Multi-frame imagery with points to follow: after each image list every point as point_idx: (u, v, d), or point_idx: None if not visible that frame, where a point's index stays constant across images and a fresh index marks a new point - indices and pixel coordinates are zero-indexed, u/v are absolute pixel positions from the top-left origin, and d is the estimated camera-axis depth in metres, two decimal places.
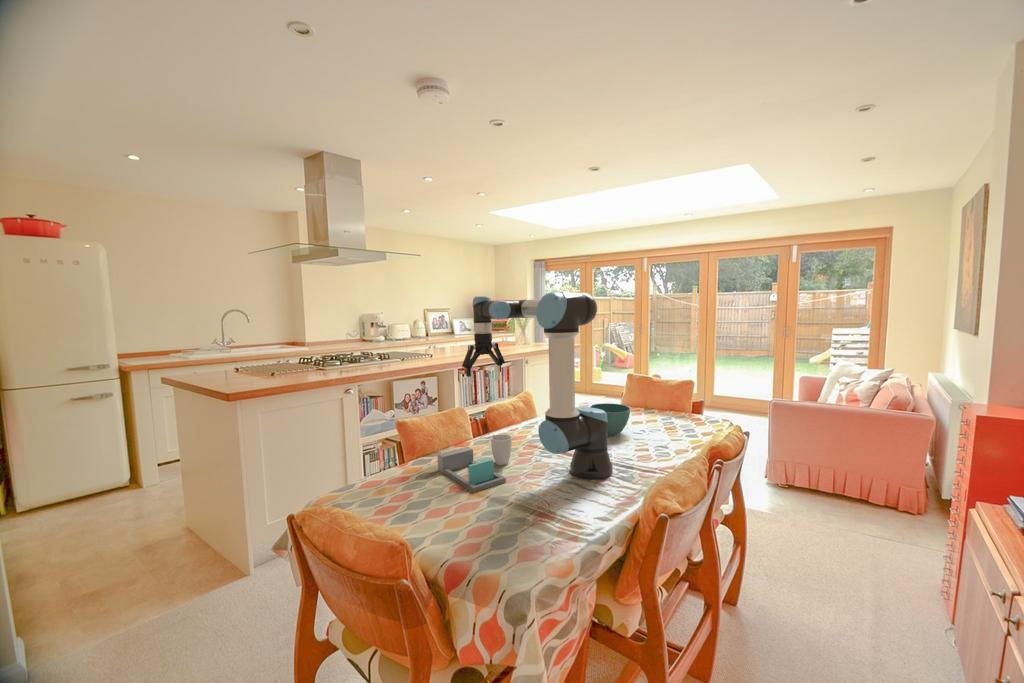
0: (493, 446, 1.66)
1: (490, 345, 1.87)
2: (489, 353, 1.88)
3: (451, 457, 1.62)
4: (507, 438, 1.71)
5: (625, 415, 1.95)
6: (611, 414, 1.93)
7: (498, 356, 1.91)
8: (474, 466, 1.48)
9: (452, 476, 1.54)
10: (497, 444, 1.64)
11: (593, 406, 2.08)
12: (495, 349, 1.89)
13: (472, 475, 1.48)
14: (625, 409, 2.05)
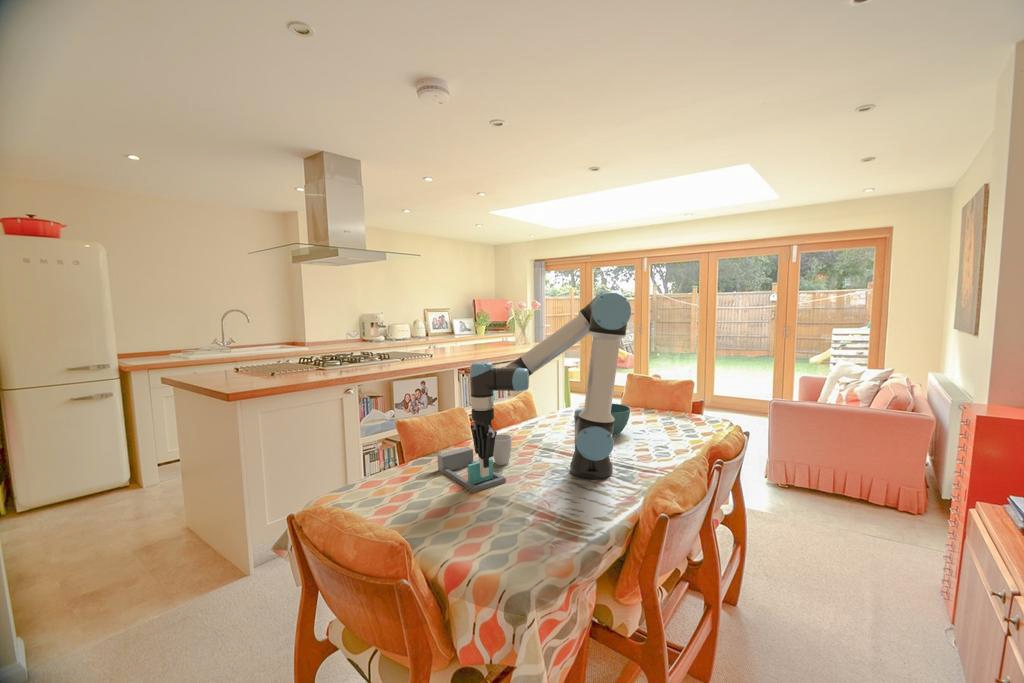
0: None
1: (485, 426, 1.44)
2: None
3: (451, 457, 1.62)
4: (507, 438, 1.71)
5: (625, 415, 1.95)
6: (611, 414, 1.93)
7: None
8: (473, 466, 1.48)
9: (452, 476, 1.54)
10: (497, 444, 1.64)
11: None
12: None
13: (471, 475, 1.48)
14: (625, 409, 2.05)
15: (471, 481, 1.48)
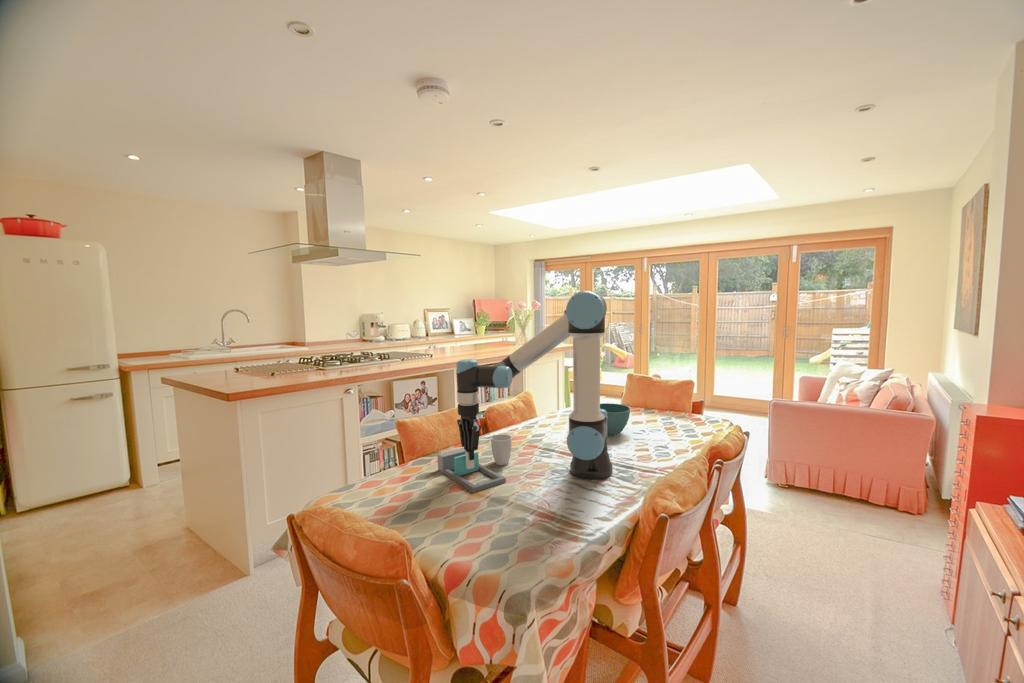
0: (493, 446, 1.66)
1: (470, 420, 1.52)
2: None
3: (451, 457, 1.62)
4: (507, 438, 1.71)
5: (625, 415, 1.95)
6: (611, 414, 1.93)
7: None
8: (459, 458, 1.56)
9: (452, 476, 1.54)
10: (497, 444, 1.64)
11: None
12: None
13: (457, 467, 1.56)
14: (625, 409, 2.05)
15: (457, 473, 1.56)
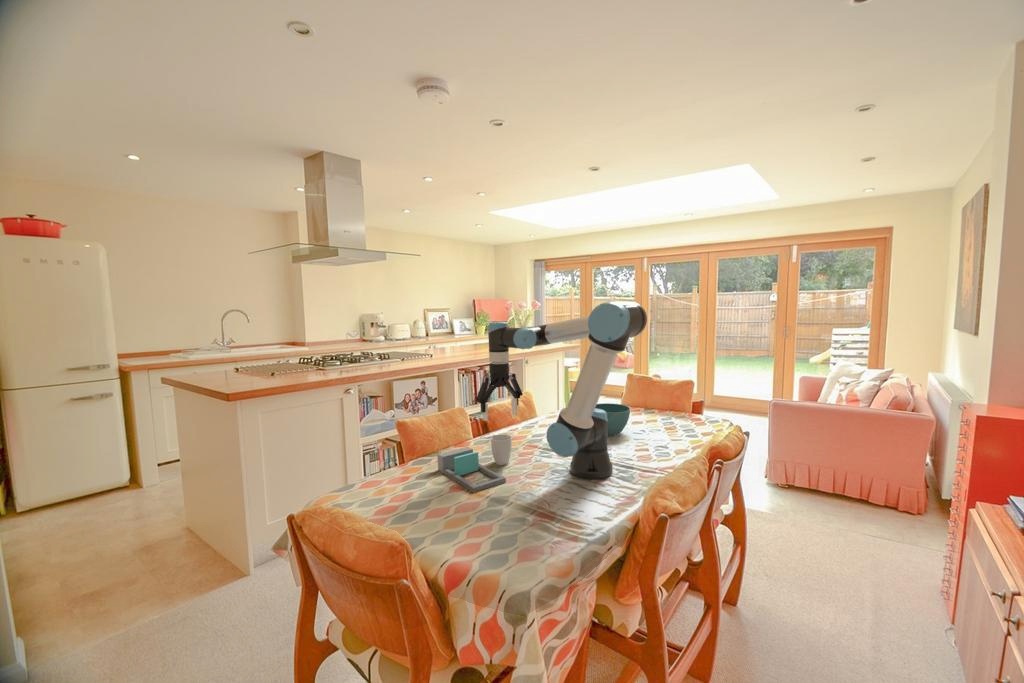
0: (493, 446, 1.66)
1: (507, 376, 1.67)
2: (505, 385, 1.68)
3: (451, 457, 1.62)
4: (507, 438, 1.71)
5: (625, 415, 1.95)
6: (611, 414, 1.93)
7: (515, 388, 1.71)
8: (459, 458, 1.56)
9: (452, 476, 1.54)
10: (496, 444, 1.64)
11: None
12: (512, 380, 1.70)
13: (457, 467, 1.56)
14: (625, 409, 2.05)
15: (457, 473, 1.56)
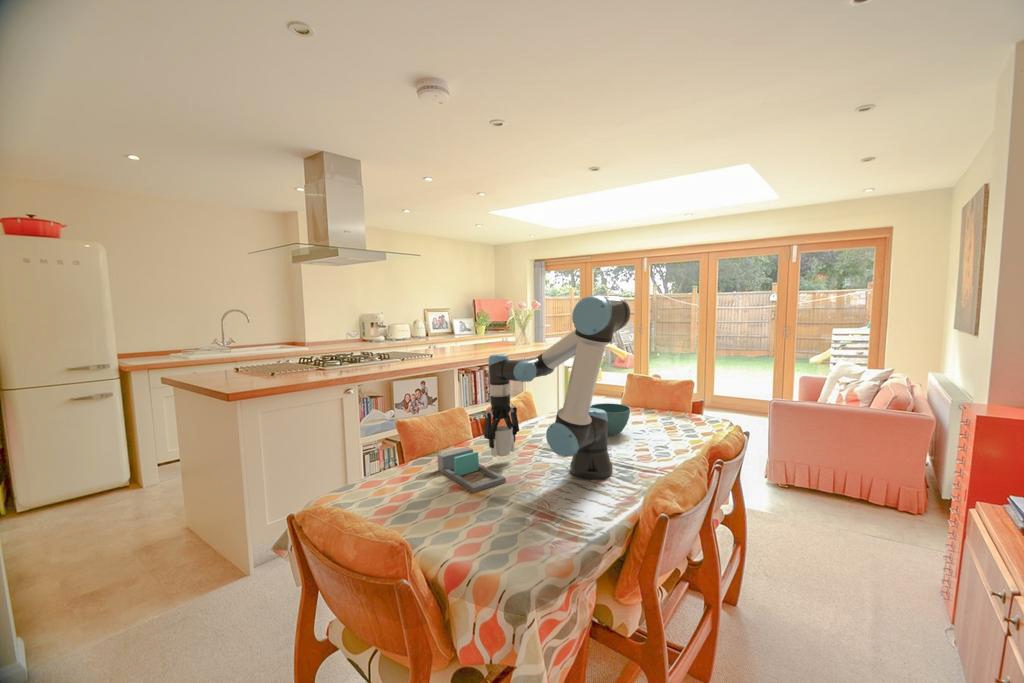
0: None
1: (508, 408, 1.68)
2: (505, 418, 1.68)
3: (451, 457, 1.62)
4: (508, 429, 1.70)
5: (625, 415, 1.95)
6: (611, 414, 1.93)
7: (513, 422, 1.71)
8: (459, 458, 1.56)
9: (452, 476, 1.54)
10: (497, 435, 1.64)
11: (593, 406, 2.08)
12: (512, 414, 1.70)
13: (457, 467, 1.56)
14: (625, 409, 2.05)
15: (457, 473, 1.56)
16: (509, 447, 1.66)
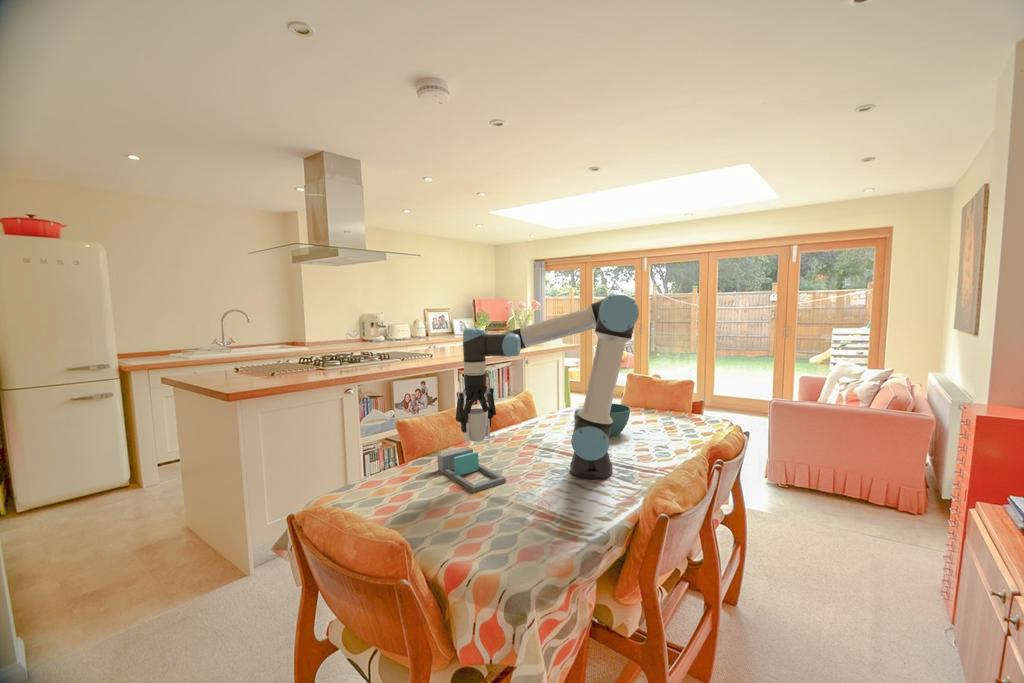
0: (467, 420, 1.48)
1: (484, 388, 1.51)
2: (480, 399, 1.51)
3: (451, 457, 1.62)
4: (483, 412, 1.53)
5: (625, 415, 1.95)
6: (611, 414, 1.93)
7: (490, 405, 1.54)
8: (459, 458, 1.56)
9: (452, 476, 1.54)
10: (470, 418, 1.47)
11: None
12: (488, 395, 1.53)
13: (457, 467, 1.56)
14: (625, 409, 2.05)
15: (457, 473, 1.56)
16: (483, 432, 1.49)
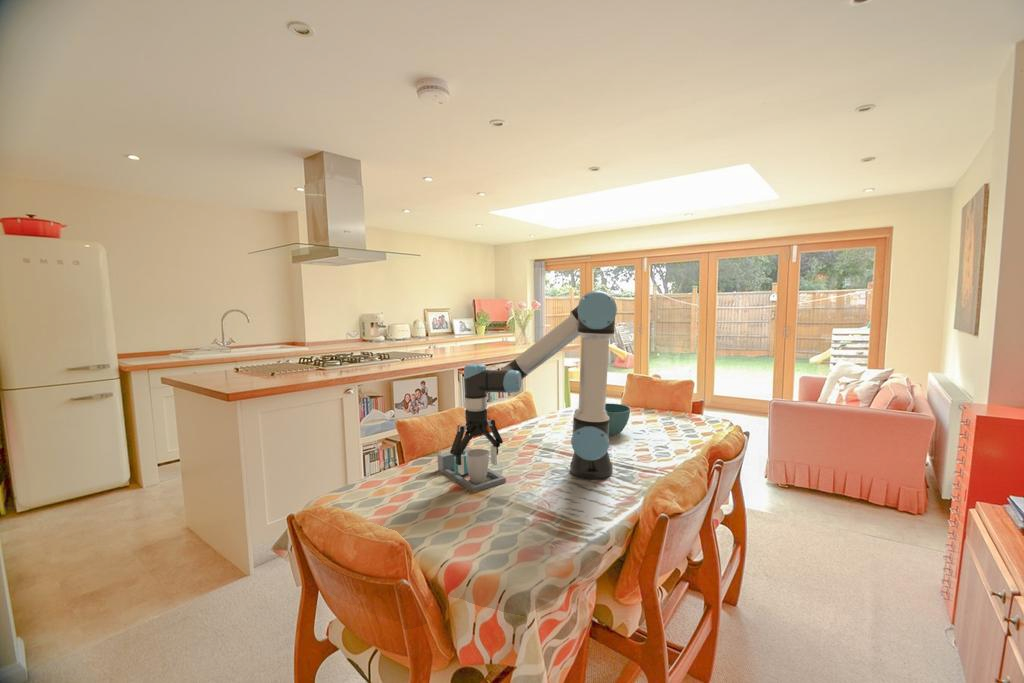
0: (468, 462, 1.49)
1: (485, 423, 1.52)
2: (484, 433, 1.52)
3: (451, 457, 1.62)
4: (484, 453, 1.55)
5: (625, 415, 1.95)
6: (611, 414, 1.93)
7: (495, 435, 1.56)
8: None
9: (452, 476, 1.54)
10: (471, 460, 1.48)
11: None
12: (491, 427, 1.54)
13: (457, 467, 1.56)
14: (625, 409, 2.05)
15: (457, 473, 1.56)
16: (484, 473, 1.50)
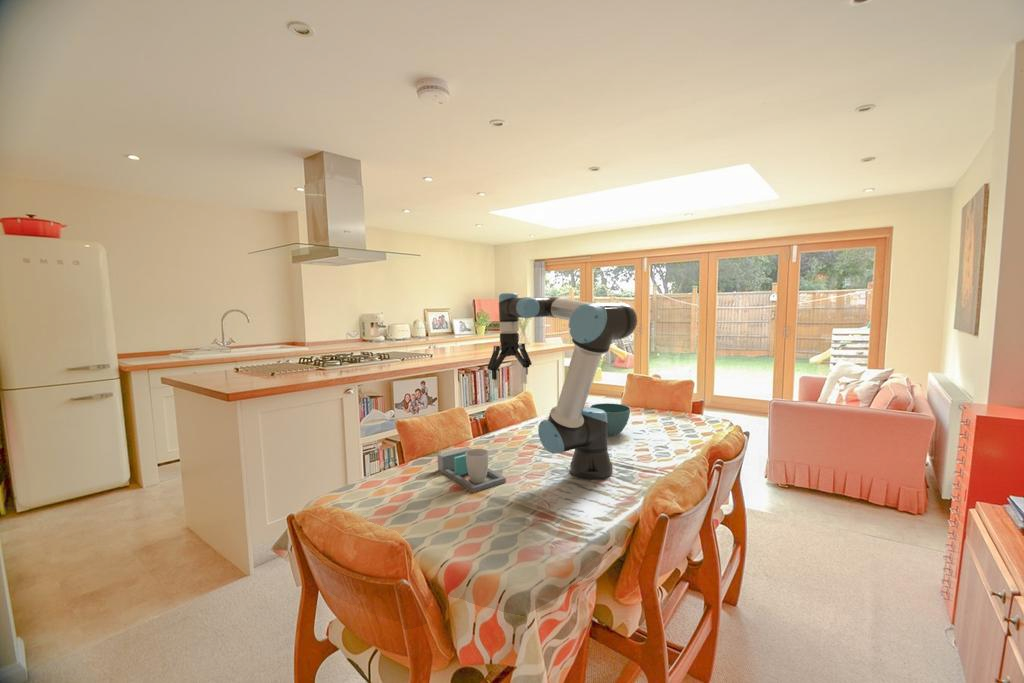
0: (468, 462, 1.49)
1: (517, 346, 1.74)
2: (515, 354, 1.74)
3: (451, 457, 1.62)
4: (484, 453, 1.55)
5: (625, 415, 1.95)
6: (611, 414, 1.93)
7: (524, 357, 1.78)
8: (459, 458, 1.56)
9: (452, 476, 1.54)
10: (471, 460, 1.48)
11: (593, 406, 2.08)
12: (521, 350, 1.76)
13: (457, 467, 1.56)
14: (625, 409, 2.05)
15: (457, 473, 1.56)
16: (484, 473, 1.50)
